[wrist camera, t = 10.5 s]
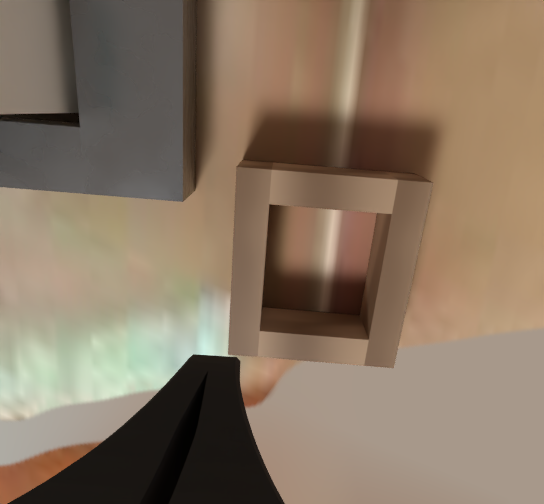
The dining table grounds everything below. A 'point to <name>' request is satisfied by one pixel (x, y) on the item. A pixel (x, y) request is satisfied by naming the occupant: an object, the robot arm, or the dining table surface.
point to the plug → (36, 57)
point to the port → (117, 107)
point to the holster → (380, 275)
